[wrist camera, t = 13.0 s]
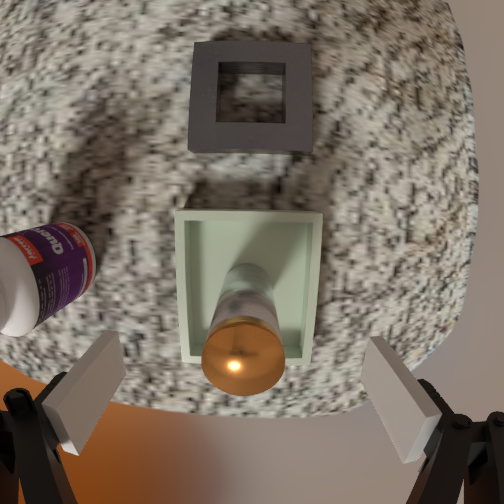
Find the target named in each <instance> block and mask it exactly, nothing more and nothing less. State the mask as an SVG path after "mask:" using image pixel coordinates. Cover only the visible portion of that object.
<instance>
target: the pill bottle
mask: <svg viewBox="0 0 504 504" xmlns="http://www.w3.org/2000/svg"><path fill="white" fill-rule="evenodd" d="M95 272H96V259H95V253H94V250H93V247H92V245H91V242H90V241H89V239H88V237H87V236H86V235H85V233H84V232H83V231H82V230H80V229H79V228H78V227H76V226H75V225H73V224H70V223H66V222H58V223H53V224H48V225H44V226H40V227H35V228H31V229H27V230H23V231H19V232H15V233H11V234H7V235H3V236H0V332H1V333H3V334H5V335H8V336H14V337H17V336H22V335H24V334H26V333H28V332H29V331H31V330H32V329H34V328H35V327H36V326H38V325H39V324H41V323H42V322H43V321H45V320H46V319H48V318H49V317H50V316H52V315H53V314H55V313H56V312H58V311H59V310H60V309H62V308H63V307H65V306H66V305H68V304H69V303H71V302H72V301H74V300H75V299H77V298H78V297H80V296H81V295H82V294H84V293H85V292H86V291H87V290H88V289H89V288H90V286H91V284H92V282H93V280H94V277H95Z"/></svg>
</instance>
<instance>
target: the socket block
mask: <svg viewBox="0 0 504 504" xmlns="http://www.w3.org/2000/svg"><path fill="white" fill-rule="evenodd" d="M222 74H269V75H282V124H281V123H252V122H220V99H221V77H222ZM188 150H190V151H191V152H193V153H194V154H195V153H255V154H284V155H303V156H306V155H308V154H310V153H311V152H313V97H312V59H311V44H303V43H291V42H276V41H206V42H194V52H193V63H192V76H191V90H190V106H189V125H188Z"/></svg>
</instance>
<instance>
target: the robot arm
mask: <svg viewBox="0 0 504 504" xmlns="http://www.w3.org/2000/svg"><path fill="white" fill-rule="evenodd" d="M125 375H126V371H125V366H124V361H123V356H122V351H121V345H120V340H119V334H118V331H110V330H105V331H104V332H103V333H102V335H101V336H100V337H99V338H98V339H97V340H96V341H95V342H94V343H93V345H92V346H91V347H90V348H89V349H88V350H87V351H86V352H85V353H84V355H83V356H82V357H81V358H80V359H79V360H78V361H77V363H76V364H75V365H74V366H73V367H72V368H71V369H70V371H69V372H64V371H63V372H61V373H60V374H58V375H56V376H55V377H54V378H53V379H52V380H51V381H50V384H48V385H47V386H46V387H45V388H44V389H43V390H42V392H41V393H40V394H39V395H38V396H37V397H36V398H35V400H34V401H33V400H32V397H31V395H30V393H29V391H28V390H26V389H23V388H15V389H12V390H10V391H8V392H7V393H6V394H5V395H4V398H3V400H4V403H5V405H6V407H7V409H8V411H1V410H0V504H18V491H19V477H20V482H21V487H22V491H23V495H24V499H25V502H26V504H78V503H77V501H76V499H75V496H74V494H73V491H72V489H71V486H70V484H69V481H68V478H67V476H66V473H65V470H64V467H63V465H62V461H61V458H60V455H59V452H58V451H57V449H56V447H57V445H58V444H59V442H60V444H61V445H62V447H63V449H64V451H66V452H69V453H72V454H75V455H78V456H79V455H80V453H81V451H82V449H83V447H84V446H85V444H86V442H87V440H88V438H89V437H90V435H91V433H92V431H93V430H94V428H95V426H96V424H97V423H98V421H99V419H100V417H101V416H102V414H103V412H104V410H105V409H106V407H107V405H108V404H109V402H110V400H111V399H112V397H113V395H114V393H115V392H116V390H117V388H118V387H119V385H120V383H121V382H122V380H123V378H124V377H125ZM360 380H361V382H362V384H363V386H364V388H365V390H366V392H367V394H368V396H369V397H370V399H371V401H372V403H373V405H374V407H375V409H376V411H377V413H378V415H379V417H380V419H381V421H382V423H383V425H384V427H385V429H386V431H387V433H388V435H389V437H390V438H391V441H392V443H393V445H394V447H395V449H396V451H397V452H398V455H399V457H400V459H401V461H402V463H403V464H405V463H408V462H412V461H416V460H418V459H419V458H420V456H421V454H422V452H423V451H424V452H425V454H426V456H427V457H426V459H425V461H424V462H423V464H422V466H421V467H420V469H419V470H418V472H420V473H419V475H418V478H417V480H416V483H415V485H414V487H413V489H412V492H411V494H410V496H409V498H408V500H407V502H406V504H456V503H457V500H458V497H459V493H460V490H461V486H462V483H463V479H464V504H504V413H503V412H498V411H496V412H493V413H491V414H490V415H489V416H488V418H487V420H486V421H484V422H483V421H482V422H472V420H471V419H470V418H469V417H468V416H466V415H463V414H454V412H453V411H452V410H451V408H450V407H449V406H448V404H447V403H446V402H445V401H444V399H443V398H442V397H440V394H439V393H438V392H436V389H435V388H434V387H433V386H432V385H431V384H430V383H429V382H427V381H426V380H424V379H419V380H416V378H415V377H414V376H413V374H412V373H411V372H410V371H409V369H408V368H407V367H406V365H405V364H404V363H403V362H402V360H401V359H400V358H399V357H398V355H397V354H396V353H395V352H394V350H393V349H392V348H391V347H390V345H389V344H388V343H387V342H386V340H385V339H384V338H383V337H382V336H374V337H369V339H368V344H367V349H366V354H365V359H364V363H363V368H362V372H361V376H360Z"/></svg>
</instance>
